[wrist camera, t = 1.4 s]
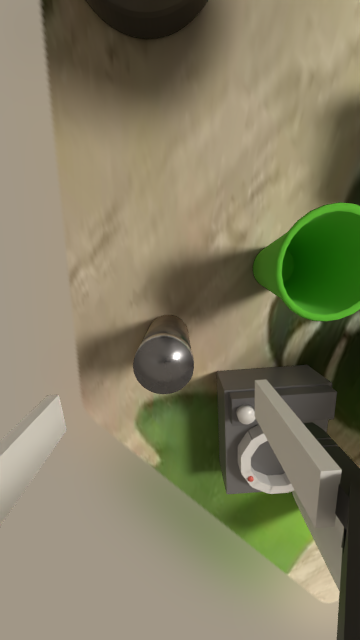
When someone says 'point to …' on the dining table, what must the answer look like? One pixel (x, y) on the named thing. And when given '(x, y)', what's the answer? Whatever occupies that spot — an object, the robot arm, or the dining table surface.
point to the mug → (326, 542)
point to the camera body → (245, 432)
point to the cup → (316, 264)
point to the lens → (164, 356)
